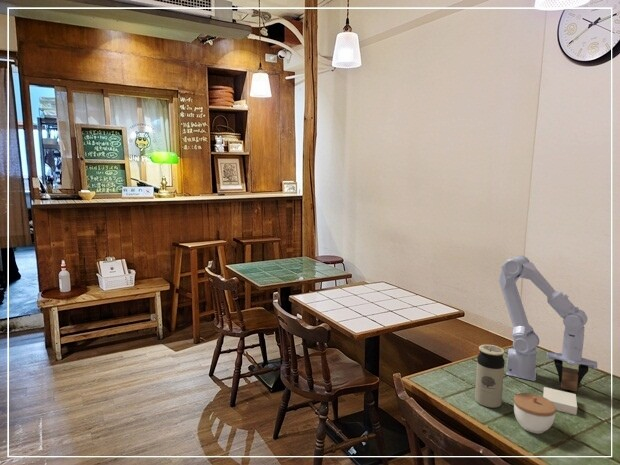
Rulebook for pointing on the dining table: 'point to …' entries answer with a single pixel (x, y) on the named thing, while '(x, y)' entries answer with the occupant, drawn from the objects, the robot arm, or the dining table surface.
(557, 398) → the cream tile block
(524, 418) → the lidded jar
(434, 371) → the dining table surface
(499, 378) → the travel mug
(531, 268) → the robot arm
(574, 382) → the walnut block
